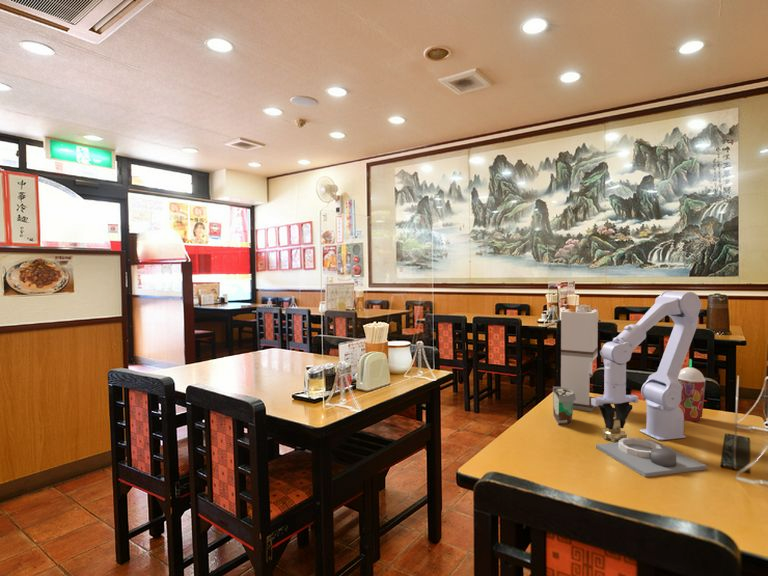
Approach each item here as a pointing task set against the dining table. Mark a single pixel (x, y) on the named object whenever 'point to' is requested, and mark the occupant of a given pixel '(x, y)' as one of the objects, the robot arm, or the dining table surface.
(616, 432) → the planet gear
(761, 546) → the dining table surface
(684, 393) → the smoothie
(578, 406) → the white stepped column
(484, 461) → the dining table surface
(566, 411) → the food container
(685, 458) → the carrier plate
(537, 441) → the dining table surface
